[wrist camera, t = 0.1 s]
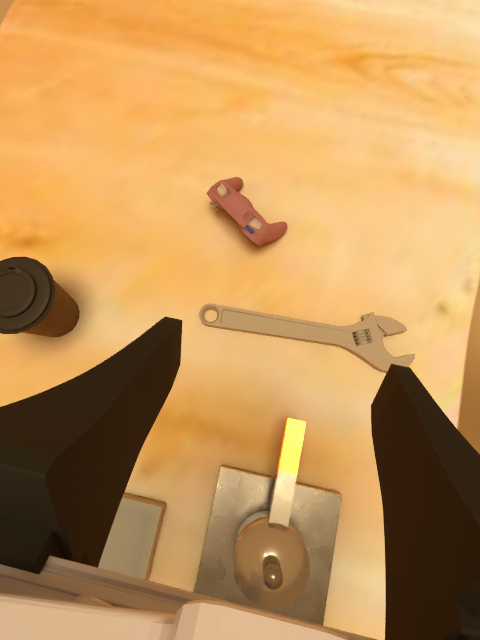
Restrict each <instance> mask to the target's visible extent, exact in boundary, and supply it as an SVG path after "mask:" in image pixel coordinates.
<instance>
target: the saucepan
mask: <svg viewBox="0 0 480 640" xmlns="http://www.w3.org/2000/svg"><path fill="white" fill-rule="evenodd" d="M305 426H306V422H304V421H299V420H295V419H290V418H286V422H285V427H284V433H283V438H282V443H281V449H280V454H279V460H278V465H277V471H276V476H275V482H274V487H273V492H272V498H271V503H270V509H269V511H261V512H257V513H255V514H253V515H251V516H250V517H249V518H247V519H246V520H245V521H244V522H243V524H242V525H241V526H240V528H239V530H238V532H237V535H236V539H235V546H234V555H233V573H234V578H235V581H236V583H237V585H238V588H239V589H240V591H241V592H242V594H243V595H244V596H245V597H246V598H247V599H248V600H249V601H251V602H252V603H253V604H255V605H257V606H260V607H262V608H267V609H278V608H282V607H285V606H287V605H289V604H291V603H293V602H294V601H295V600H296V599H297V598H298V597H299V596H300V595H301V594H302V592H303V591H304V589H305V587H306V585H307V582H308V579H309V575H310V560H309V555H308V551H307V549H306V546H305V544H304V541H303V539H302V537H301V534H300V532H299V530H298V528H297V527H296V525H295V524H294V523H293V521H292V520H291V519H289V518H290V513H291V507H292V501H293V495H294V489H295V484H296V478H297V472H298V466H299V460H300V455H301V449H302V443H303V437H304V431H305Z"/></svg>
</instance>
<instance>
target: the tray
mask: <svg viewBox="0 0 480 640" xmlns="http://www.w3.org/2000/svg"><path fill="white" fill-rule="evenodd" d="M165 505H166V503H165V502H161V501H157V500H153V499H149V498H145V497H141V496H136V495H132V494H128V493H124V494H123V497H122V500H121V502H120V505H119V508H118V511H117V513H116V516H115V519H114V522H113V525H112V528H111V530H110V533H109V536H108V539H107V542H106V545H105V548H104V551H103V554H102V557H101V560H100V563H99V566H98V568H100V569H104V570H108V571H112V572H116V573H120V574H124V575H128V576H131V577H135V578H139V579H143V580H148V576H149V572H150V568H151V563H152V559H153V555H154V551H155V547H156V543H157V538H158V534H159V530H160V526H161V522H162V517H163V513H164V509H165Z"/></svg>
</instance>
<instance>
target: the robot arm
mask: <svg viewBox="0 0 480 640" xmlns="http://www.w3.org/2000/svg"><path fill="white" fill-rule="evenodd" d="M181 336H182V320H178V319H174V318H169V317H164V318H163V319H161V320H160V321H159V322H157V323H156V324H155V325H154V326H152V327H151V328H150V329H149V330H147V331H146V332H145V333H143V334H142V335H141V336H140V337H138V338H137V339H136V340H134V341H133V342H131V343H130V344H129V345H127V346H126V347H125V348H123V349H122V350H120V351H119V352H117V353H116V354H114V355H113V356H111V357H110V358H108V359H107V360H105V361H104V362H102V363H100V364H99V365H97V366H95V367H94V368H92V369H90V370H88V371H87V372H85V373H83V374H81V375H79V376H77V377H75V378H73V379H71V380H69V381H67V382H64V383H62V384H60V385H58V386H55V387H53V388H51V389H49V390H47V391H44V392H42V393H39V394H36V395H34V396H31V397H29V398H26V399H23V400H20V401H17V402H14V403H11V404H8V405H5V406H2V407H0V640H376V639H372V638H368V637H364V636H361V635H357V634H353V633H349V632H345V631H341V630H337V629H333V628H330V627H326V626H322V625H318V624H314V623H310V622H306V621H302V620H298V619H295V618H291V617H287V616H283V615H279V614H275V613H271V612H267V611H264V610H260V609H256V608H252V607H248V606H244V605H240V604H236V603H232V602H229V601H225V600H221V599H217V598H213V597H209V596H205V595H201V594H197V593H194V592H190V591H186V590H182V589H178V588H174V587H170V586H166V585H163V584H159V583H155V582H151V581H147V580H143V579H139V578H135V577H131V576H128V575H124V574H120V573H116V572H112V571H108V570H104V569H100V568H98V566H99V563H100V560H101V557H102V554H103V551H104V548H105V545H106V542H107V539H108V536H109V533H110V530H111V528H112V525H113V522H114V519H115V516H116V513H117V511H118V508H119V505H120V502H121V500H122V497H123V494H124V491H125V489H126V486H127V483H128V481H129V478H130V475H131V473H132V470H133V468H134V465H135V463H136V460H137V457H138V455H139V452H140V450H141V448H142V446H143V444H144V441H145V439H146V437H147V435H148V434H149V432H150V430H151V428H152V426H153V424H154V422H155V420H156V418H157V416H158V414H159V412H160V410H161V408H162V406H163V404H164V402H165V400H166V398H167V396H168V394H169V392H170V390H171V388H172V386H173V383H174V380H175V378H176V375H177V372H178V369H179V366H180V359H181ZM371 425H372V438H373V445H374V451H375V458H376V464H377V470H378V476H379V482H380V489H381V495H382V503H383V515H384V535H385V565H386V622H385V640H480V455H479V453H478V452H477V451H476V450H475V449H474V448H473V447H472V446H471V445H470V444H469V442H468V441H467V440H466V439H465V438H464V437H463V436H462V434H461V433H460V432H459V431H458V430H457V429H456V427H455V426H454V425H453V424H452V422H451V421H450V420H449V419H448V418H447V416H446V415H445V414H444V412H443V411H442V410H441V409H440V407H439V406H438V405H437V403H436V402H435V401H434V399H433V398H432V397H431V395H430V394H429V393H428V391H427V390H426V389H425V387H424V386H423V384H422V383H421V382H420V380H419V379H418V378H417V376H416V375H415V374H414V372H413V371H412V370H411V368H410V367H405V366H400V365H395V364H391V365H390V367H389V369H388V371H387V374H386V376H385V378H384V380H383V382H382V384H381V386H380V388H379V390H378V392H377V394H376V396H375V399H374V401H373V403H372V405H371Z"/></svg>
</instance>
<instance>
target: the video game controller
mask: <svg viewBox="0 0 480 640" xmlns="http://www.w3.org/2000/svg"><path fill="white" fill-rule="evenodd" d="M242 185H243V180H242V179H241V178H238V177H235V178H230V179H227V180H221V181H219V182H217V183H216V184H215V185H213V186H212V187H211V188H210V189H209V191H208V192H207V195H208V196H209V197H210V199H211V200H212V202H213V203H210V204H211V206H212V208H213V209H216V210H218V208H221V209H223V210H224V211H226V212H227V213H228V214H229V215H230V216H231V217H232V218H233V219H234V220H235V221H236V222H237V223H238V224H239V225H240V226H239V228H240V229H241V231H242V232H243V233H244V234H245V235H246V236H247V237H248V238H249V239H250V240H251V241H252V242H254V243H255V244H256V245H258V246H261V245H262V244H264V243H268V242H271V241H274V240H276V239H278V238H279V237H281V236H282V235H283V234H284V233H285V231H286V229H287V224H286V222H278V223H273V224H268V223H267V222H266V221H265V220H264V219H263V217H262V216H261V215H260V214H259V213H258V212H257V211H256V210H255V209H254V208H253V206H252V204H251V202H250V201H249V200H248V199H247V198H246V197H245V196H243V195H242V194H239V193H238V191H239V190H240V188H241V187H242ZM217 207H218V208H217Z"/></svg>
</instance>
